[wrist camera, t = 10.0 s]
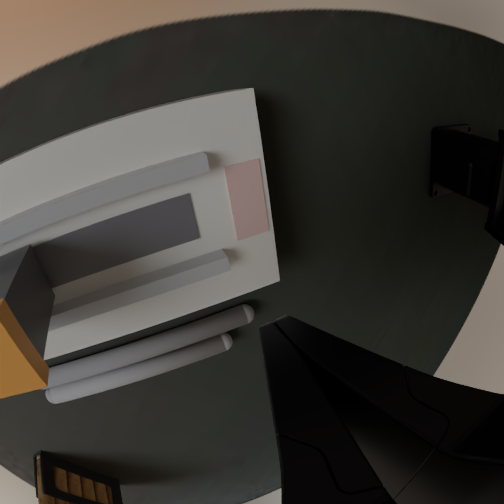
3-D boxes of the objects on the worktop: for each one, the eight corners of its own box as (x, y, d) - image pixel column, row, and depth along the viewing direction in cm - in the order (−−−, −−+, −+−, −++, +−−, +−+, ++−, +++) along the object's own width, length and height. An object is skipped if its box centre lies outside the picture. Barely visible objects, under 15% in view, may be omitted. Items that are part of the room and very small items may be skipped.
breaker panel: (232, 89, 16) (262, 87, 13) (259, 258, 22) (287, 289, 19) (-75, 205, 11) (-107, 230, 8) (-2, 345, 17) (-13, 386, 13)
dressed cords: (248, 297, 23) (255, 308, 22) (254, 329, 25) (261, 341, 23) (30, 369, 18) (28, 382, 17) (52, 395, 20) (51, 408, 19)
